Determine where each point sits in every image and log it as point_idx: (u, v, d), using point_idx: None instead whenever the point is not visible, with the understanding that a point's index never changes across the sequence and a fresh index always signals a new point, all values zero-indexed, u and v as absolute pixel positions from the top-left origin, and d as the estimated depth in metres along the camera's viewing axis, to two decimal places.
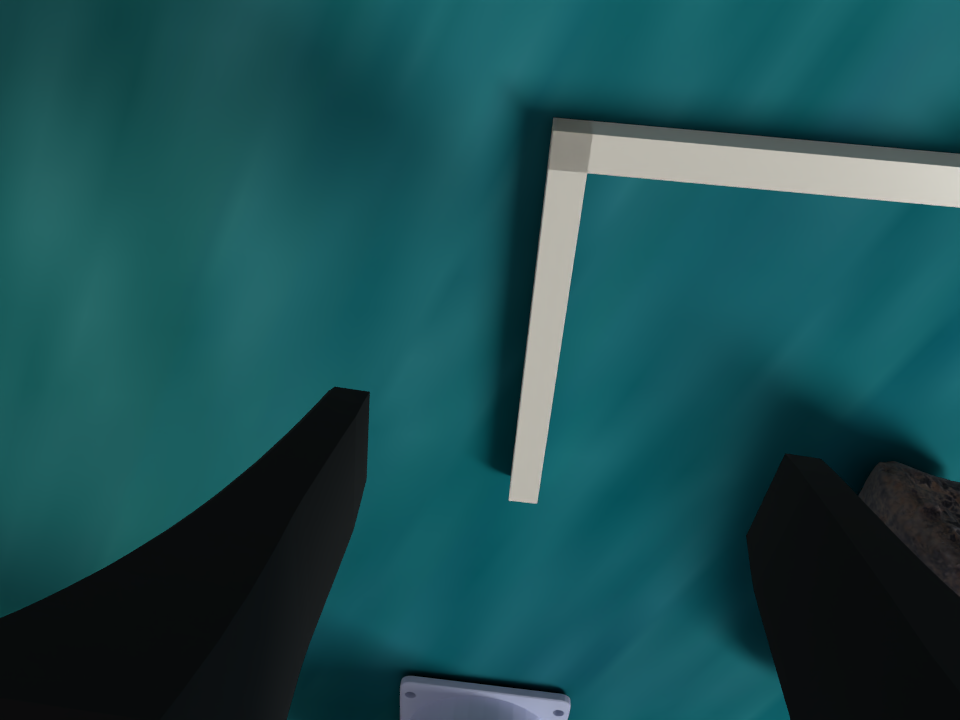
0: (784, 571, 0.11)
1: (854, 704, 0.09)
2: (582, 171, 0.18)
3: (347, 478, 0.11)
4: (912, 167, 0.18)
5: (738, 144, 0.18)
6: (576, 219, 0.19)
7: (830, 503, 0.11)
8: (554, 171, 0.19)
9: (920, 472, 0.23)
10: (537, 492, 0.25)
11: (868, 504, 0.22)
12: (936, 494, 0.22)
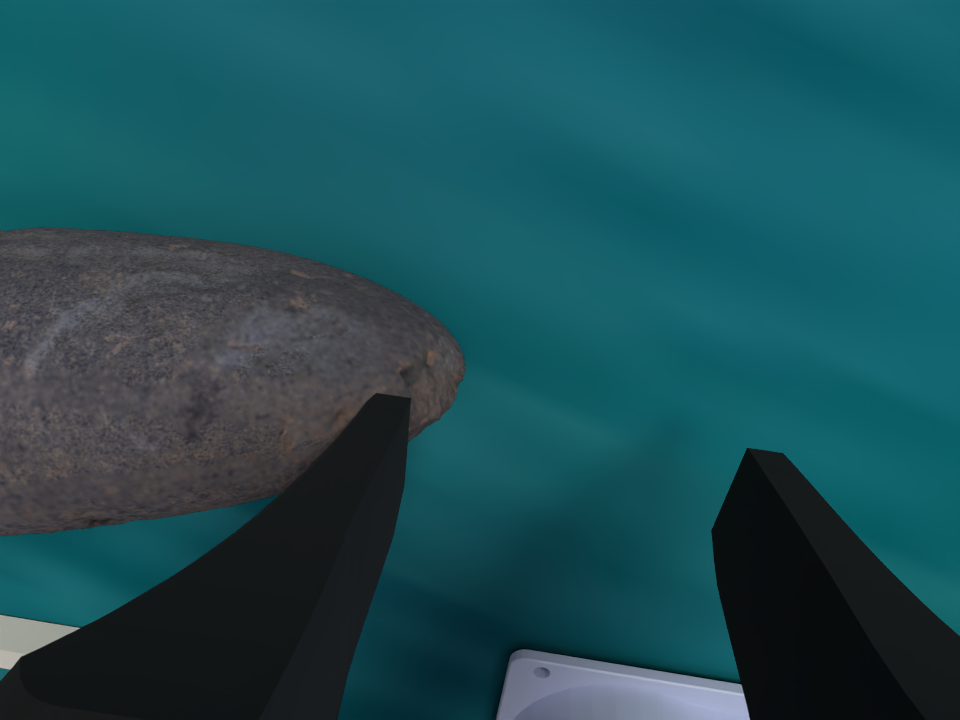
0: (744, 564, 0.11)
1: (805, 697, 0.09)
2: None
3: (391, 485, 0.11)
4: None
5: None
6: None
7: (787, 497, 0.11)
8: None
9: None
10: None
11: None
12: None
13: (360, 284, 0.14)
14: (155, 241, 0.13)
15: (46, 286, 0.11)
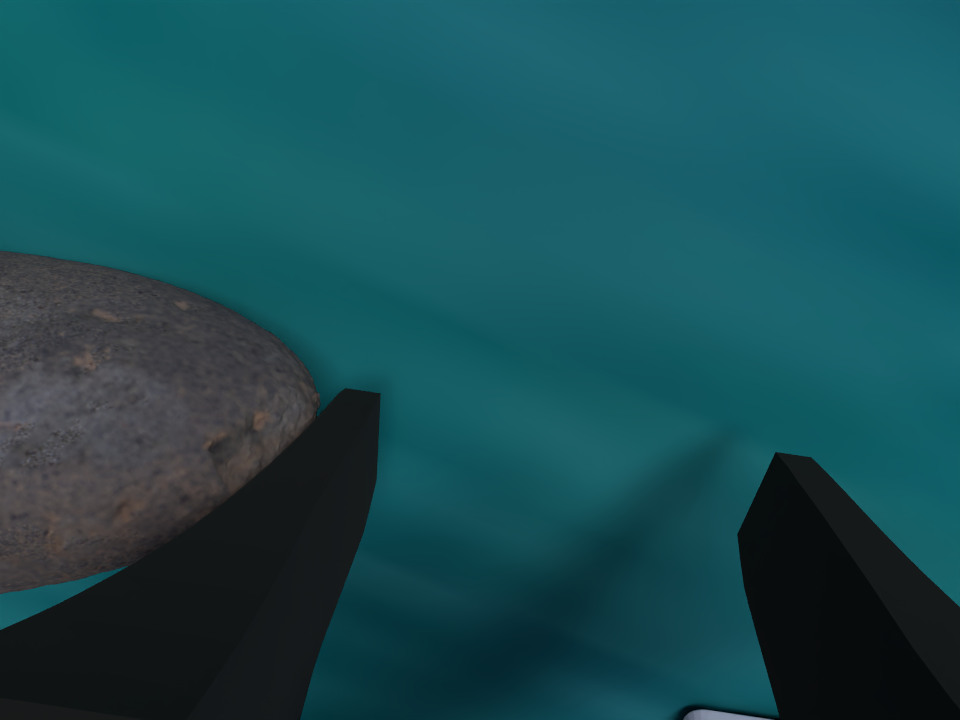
0: (774, 569, 0.11)
1: (842, 703, 0.09)
2: None
3: (358, 480, 0.11)
4: None
5: None
6: None
7: (819, 501, 0.11)
8: None
9: None
10: None
11: None
12: None
13: (187, 321, 0.12)
14: None
15: None
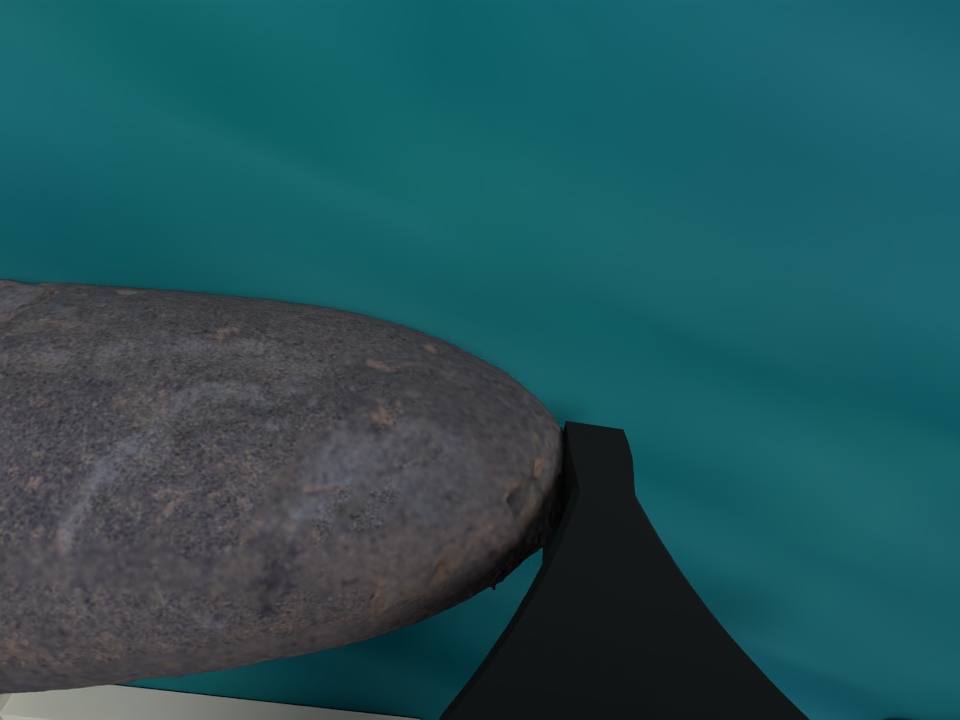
0: (555, 536, 0.11)
1: None
2: None
3: None
4: None
5: None
6: None
7: (582, 466, 0.11)
8: None
9: None
10: None
11: None
12: None
13: (447, 366, 0.11)
14: (199, 324, 0.11)
15: (74, 420, 0.09)
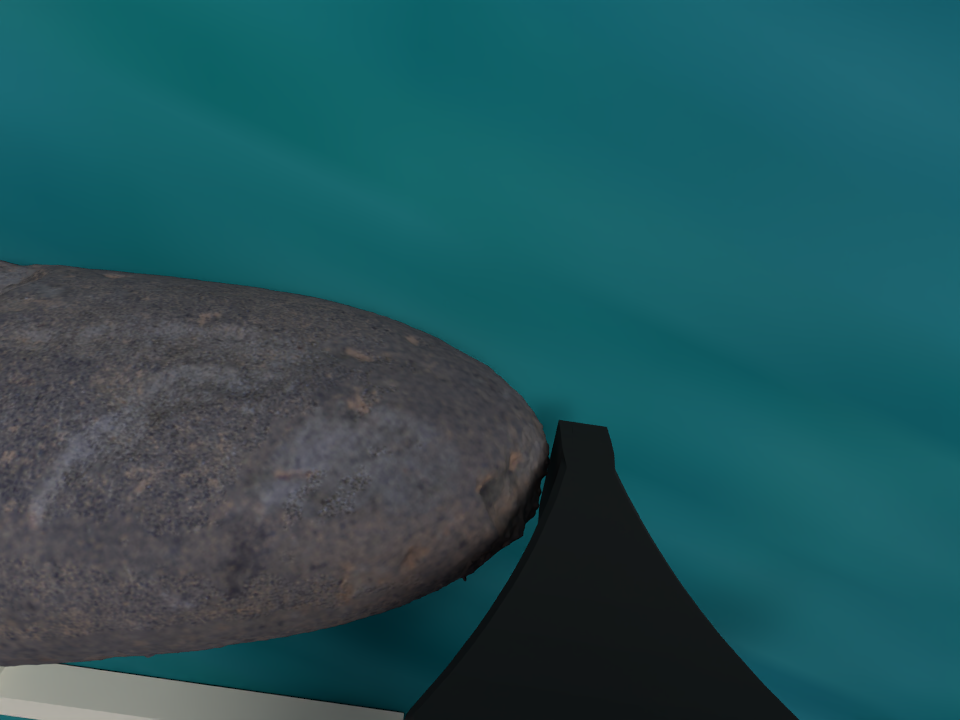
0: None
1: None
2: None
3: None
4: None
5: None
6: (30, 703, 0.21)
7: (574, 465, 0.11)
8: None
9: None
10: None
11: None
12: None
13: (428, 358, 0.11)
14: (182, 308, 0.11)
15: (51, 397, 0.09)
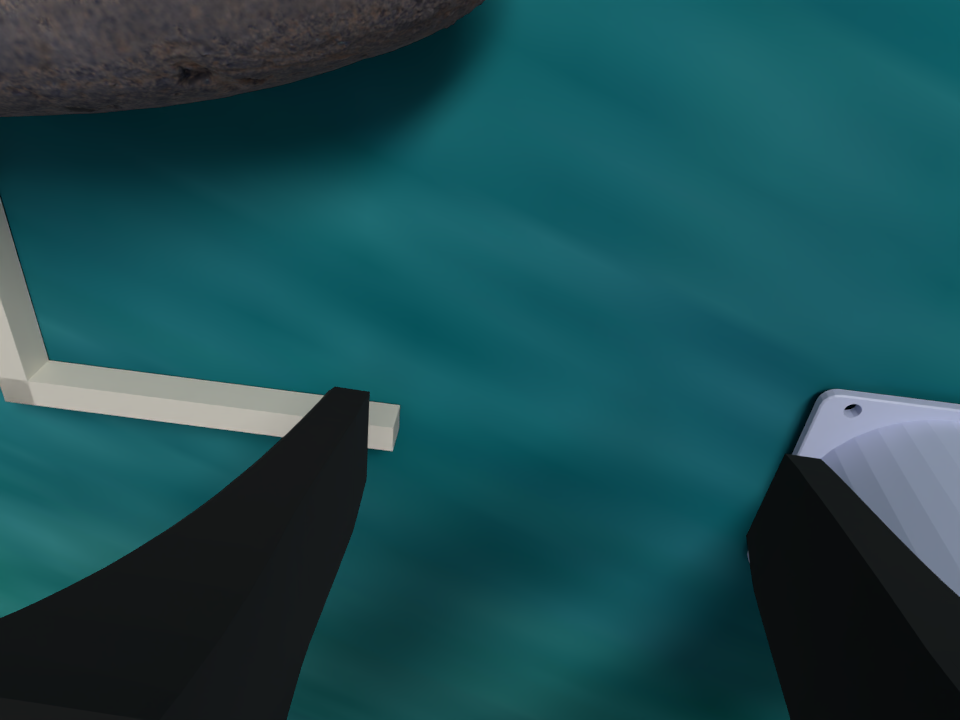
0: (784, 571, 0.11)
1: (854, 705, 0.09)
2: (27, 383, 0.23)
3: (346, 478, 0.11)
4: None
5: None
6: (66, 388, 0.23)
7: (830, 503, 0.11)
8: (35, 401, 0.24)
9: None
10: (376, 426, 0.23)
11: None
12: None
13: None
14: None
15: None
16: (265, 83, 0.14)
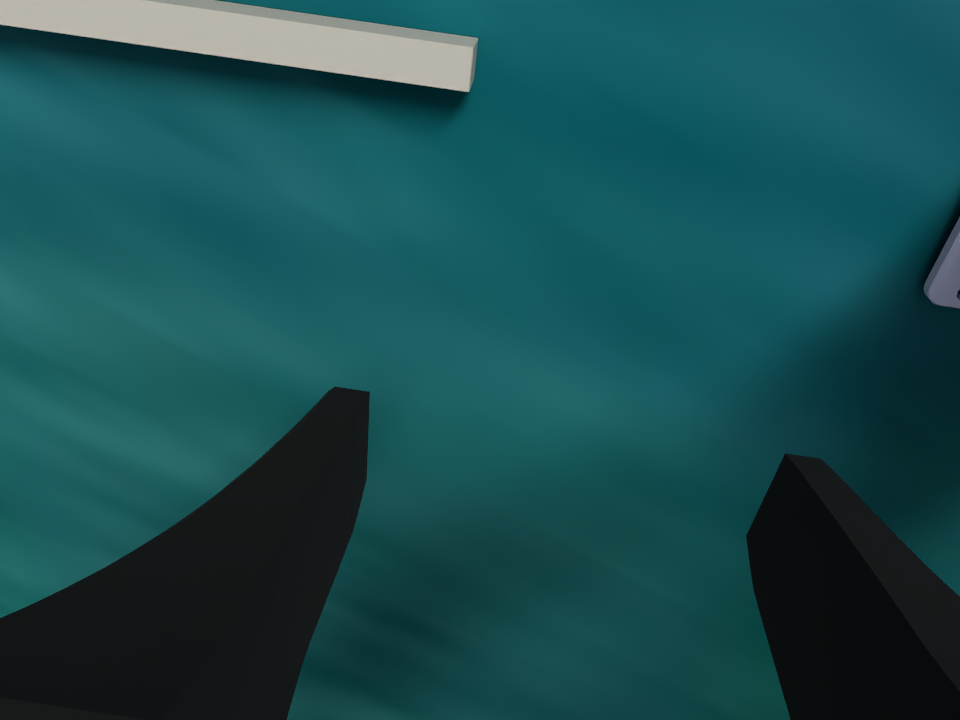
0: (784, 571, 0.11)
1: (854, 704, 0.09)
2: None
3: (347, 478, 0.11)
4: None
5: None
6: None
7: (830, 503, 0.11)
8: None
9: None
10: (450, 46, 0.17)
11: None
12: None
13: None
14: None
15: None
16: None
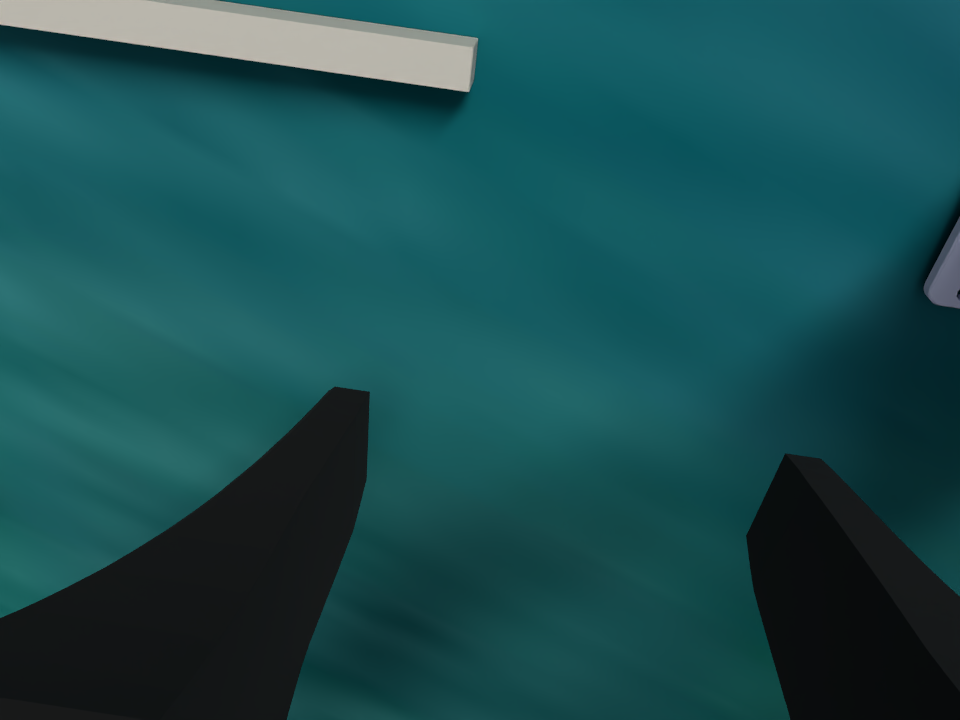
0: (784, 571, 0.11)
1: (854, 704, 0.09)
2: None
3: (347, 478, 0.11)
4: None
5: None
6: None
7: (830, 503, 0.11)
8: None
9: None
10: (450, 46, 0.17)
11: None
12: None
13: None
14: None
15: None
16: None
